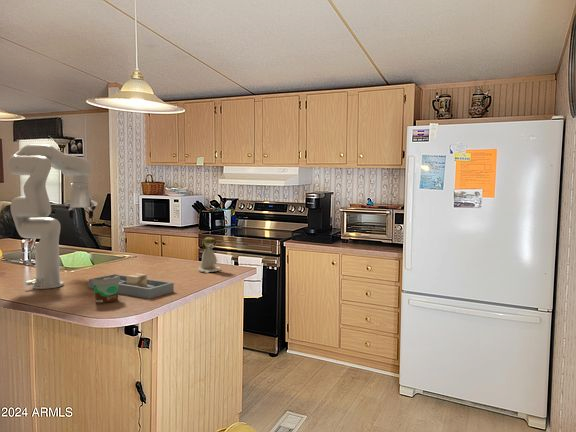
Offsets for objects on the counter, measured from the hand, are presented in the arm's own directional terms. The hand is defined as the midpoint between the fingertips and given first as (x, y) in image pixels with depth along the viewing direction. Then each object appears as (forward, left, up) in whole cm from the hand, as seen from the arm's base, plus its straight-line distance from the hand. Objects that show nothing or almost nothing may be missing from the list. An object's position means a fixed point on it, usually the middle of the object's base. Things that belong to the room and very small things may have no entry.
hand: (81, 218), depth 238 cm
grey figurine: (+36, -58, -29) cm, 74 cm away
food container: (-34, -64, -29) cm, 78 cm away
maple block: (-16, -59, -27) cm, 67 cm away
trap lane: (-16, -55, -29) cm, 64 cm away
